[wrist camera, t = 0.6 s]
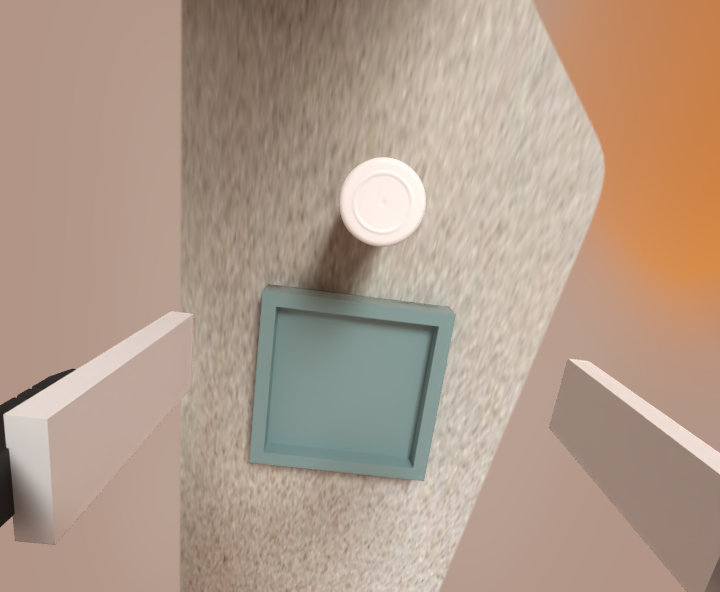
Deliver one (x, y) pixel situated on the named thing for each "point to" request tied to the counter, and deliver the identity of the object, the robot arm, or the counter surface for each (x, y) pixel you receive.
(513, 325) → the counter surface
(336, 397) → the tray
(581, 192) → the counter surface
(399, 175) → the sprinkles bottle
